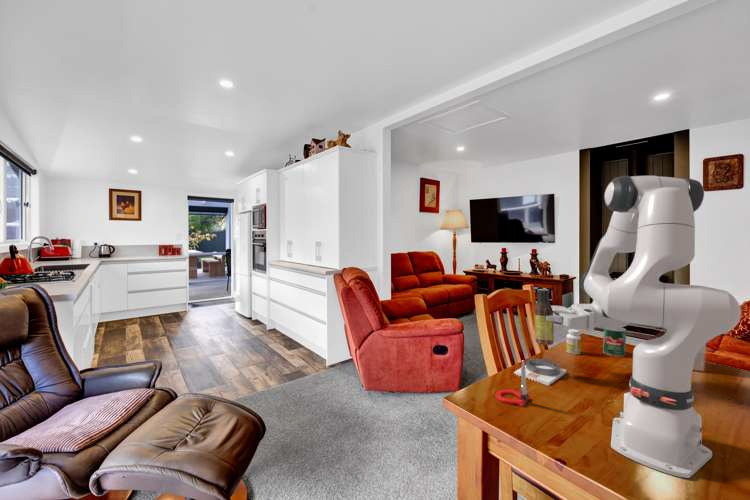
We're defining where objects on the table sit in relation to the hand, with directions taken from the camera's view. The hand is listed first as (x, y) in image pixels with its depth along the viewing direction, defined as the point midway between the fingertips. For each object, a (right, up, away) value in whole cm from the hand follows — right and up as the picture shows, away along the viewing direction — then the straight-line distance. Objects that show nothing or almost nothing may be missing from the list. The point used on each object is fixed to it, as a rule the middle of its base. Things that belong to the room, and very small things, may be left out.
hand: (541, 315), depth 122 cm
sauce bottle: (+1, -10, 0) cm, 10 cm away
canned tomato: (+42, -21, +21) cm, 51 cm away
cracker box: (+61, -21, +8) cm, 65 cm away
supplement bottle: (+25, -21, +22) cm, 39 cm away
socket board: (-1, -21, -1) cm, 21 cm away
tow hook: (-19, -22, -19) cm, 35 cm away
